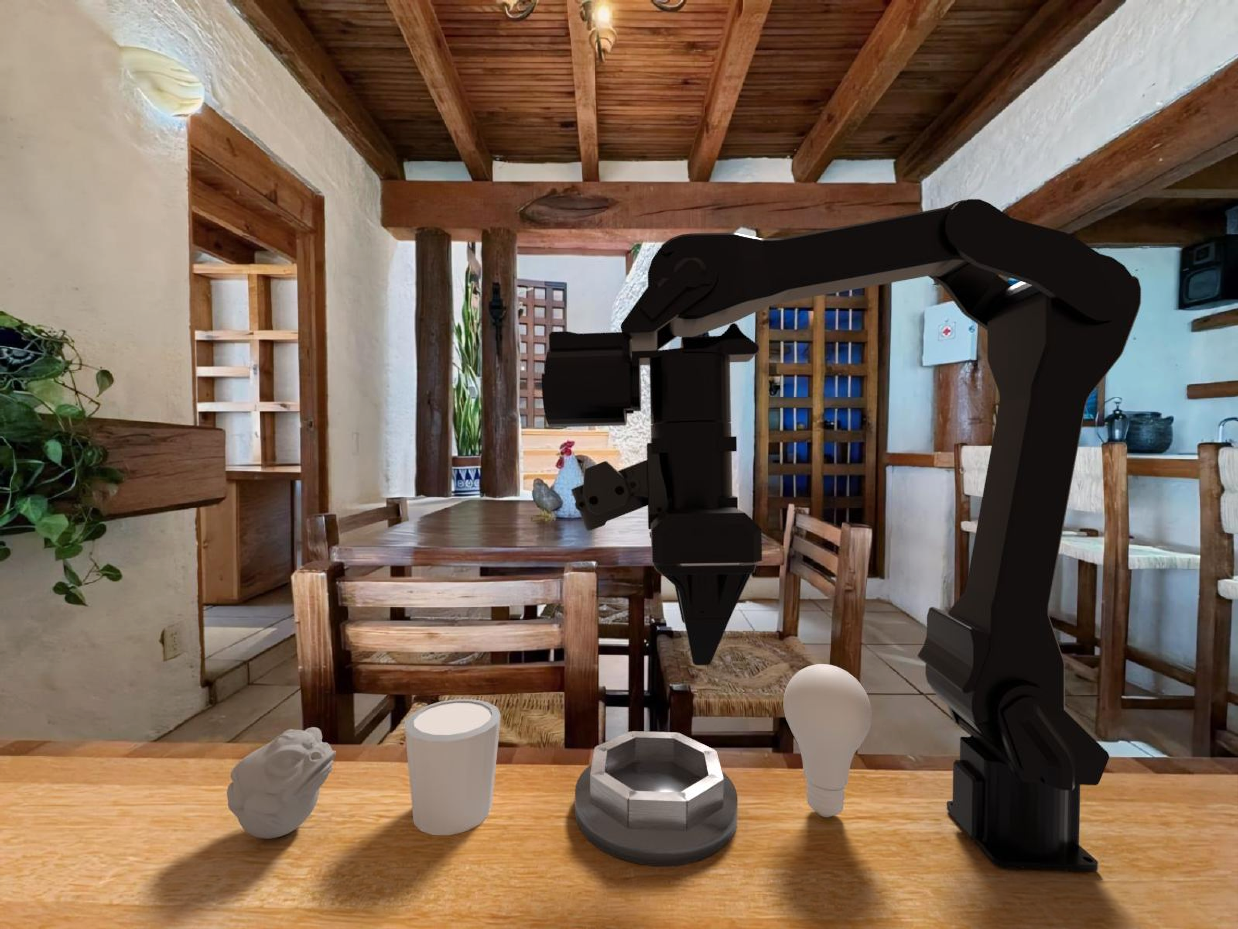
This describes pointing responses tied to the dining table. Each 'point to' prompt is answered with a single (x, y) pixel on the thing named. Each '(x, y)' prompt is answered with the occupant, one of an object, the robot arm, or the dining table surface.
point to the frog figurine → (280, 783)
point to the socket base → (656, 799)
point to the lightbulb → (826, 730)
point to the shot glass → (452, 764)
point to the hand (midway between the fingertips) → (694, 641)
